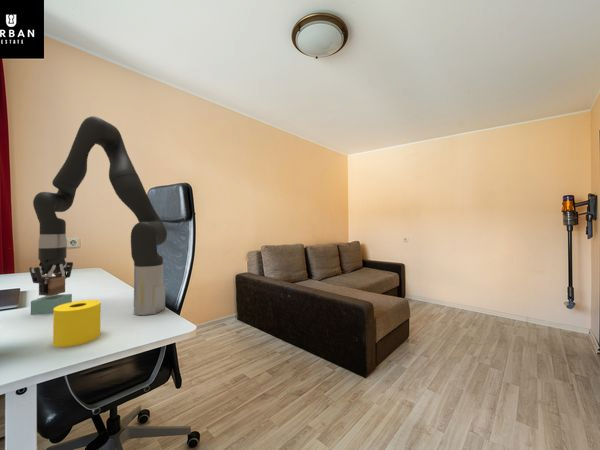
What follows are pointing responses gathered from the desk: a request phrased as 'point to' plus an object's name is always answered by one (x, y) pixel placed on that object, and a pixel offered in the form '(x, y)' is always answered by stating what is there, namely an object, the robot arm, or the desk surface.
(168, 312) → the desk surface
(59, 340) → the yellow holed block
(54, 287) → the walnut block
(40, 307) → the teal block
